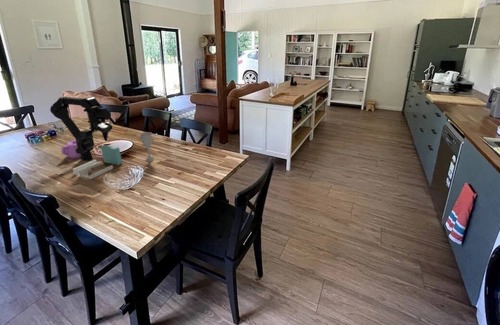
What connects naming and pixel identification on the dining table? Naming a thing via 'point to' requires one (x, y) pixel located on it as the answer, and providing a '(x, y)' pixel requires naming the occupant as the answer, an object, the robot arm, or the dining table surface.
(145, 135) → the chalice
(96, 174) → the rack
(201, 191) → the dining table surface
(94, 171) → the offcut stack
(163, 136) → the dining table surface
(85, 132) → the robot arm
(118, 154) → the teal flat block
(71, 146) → the teapot
